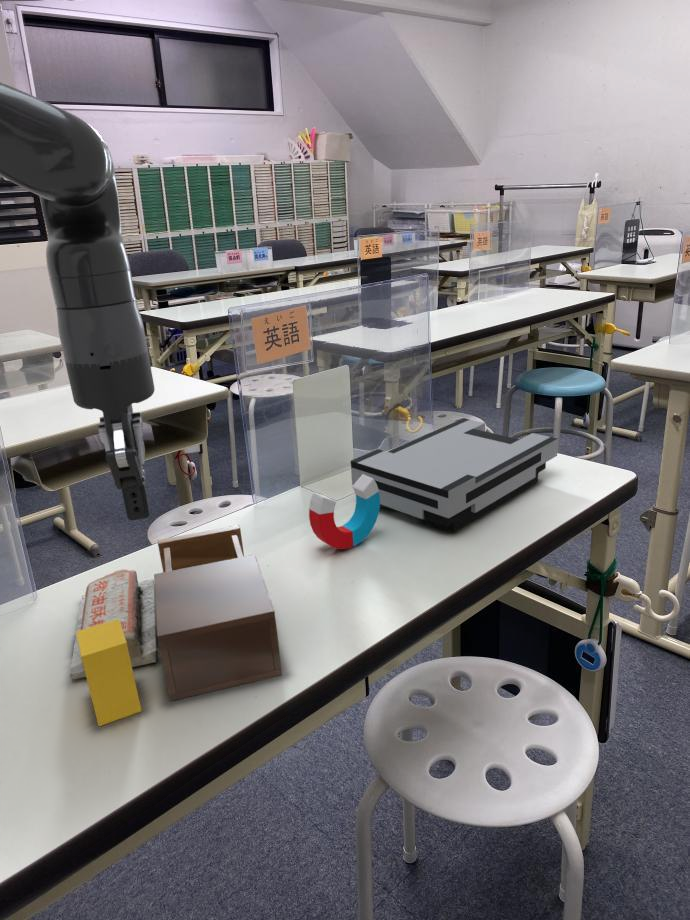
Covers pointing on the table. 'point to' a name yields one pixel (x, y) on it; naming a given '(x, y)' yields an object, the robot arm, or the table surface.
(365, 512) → the magnet
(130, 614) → the packaged product
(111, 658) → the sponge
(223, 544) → the drawer
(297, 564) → the table surface
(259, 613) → the cabinet
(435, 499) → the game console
